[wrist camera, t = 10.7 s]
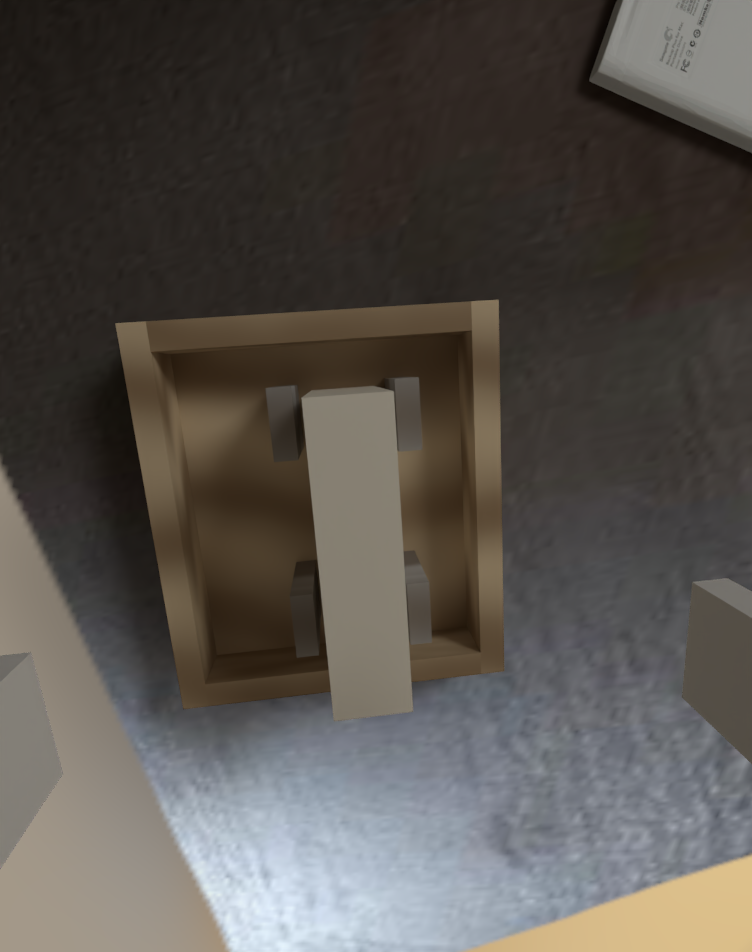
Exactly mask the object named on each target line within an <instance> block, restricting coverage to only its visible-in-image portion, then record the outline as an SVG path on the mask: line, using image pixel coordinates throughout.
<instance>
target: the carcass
mask: <svg viewBox="0 0 752 952" xmlns="http://www.w3.org/2000/svg"><path fill="white" fill-rule="evenodd" d="M115 324H116V330H117V335H118V341H119V347H120V352H121V358H122V364H123V369H124V375H125V381H126V386H127V392H128V398H129V403H130V409H131V415H132V420H133V426H134V432H135V438H136V443H137V449H138V455H139V460H140V466H141V472H142V477H143V483H144V489H145V494H146V500H147V506H148V511H149V517H150V523H151V528H152V534H153V540H154V545H155V551H156V557H157V562H158V568H159V574H160V579H161V585H162V591H163V596H164V602H165V608H166V614H167V619H168V625H169V631H170V636H171V642H172V648H173V653H174V659H175V665H176V670H177V676H178V682H179V687H180V693H181V699H182V704H183V709H189V708H198V707H206V706H215V705H223V704H232V703H240V702H248V701H257V700H265V699H274V698H282V697H291V696H299V695H307V694H316V693H324V692H331V687H330V677H329V667H328V657H327V647H326V638H325V628H324V618H323V608H322V598H321V588H320V578H319V568H318V558H317V548H316V538H315V528H314V518H313V508H312V498H311V488H310V478H309V468H308V458H307V448H306V438H305V429H304V419H303V409H302V399H301V398H302V397H303V396H305V395H306V394H307V393H309V392H310V391H311V390H321V389H335V388H349V387H363V386H376V387H380V388H384V389H388V390H391V391H394V403H395V420H396V437H397V453H398V470H399V486H400V503H401V519H402V536H403V553H404V569H405V586H406V602H407V619H408V635H409V652H410V669H411V682H417V681H425V680H434V679H442V678H451V677H459V676H467V675H476V674H484V673H493V672H501V671H504V628H503V563H502V497H501V432H500V367H499V302H498V300H487V301H470V302H454V303H438V304H422V305H406V306H390V307H373V308H357V309H341V310H325V311H309V312H292V313H276V314H260V315H244V316H228V317H211V318H195V319H179V320H163V321H147V322H130V323H115Z"/></svg>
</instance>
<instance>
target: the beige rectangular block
mask: <svg viewBox="0 0 752 952" xmlns="http://www.w3.org/2000/svg"><path fill="white" fill-rule="evenodd" d="M301 399H302V409H303V419H304V429H305V438H306V448H307V458H308V468H309V478H310V488H311V498H312V508H313V518H314V528H315V538H316V548H317V558H318V568H319V578H320V588H321V598H322V608H323V618H324V628H325V638H326V647H327V657H328V667H329V677H330V687H331V697H332V707H333V717H334V721H341V720H349V719H357V718H366V717H374V716H382V715H390V714H398V713H406V712H413V702H412V685H411V669H410V652H409V635H408V619H407V602H406V586H405V569H404V553H403V536H402V519H401V503H400V486H399V470H398V453H397V437H396V420H395V403H394V391H391V390H388V389H384V388H380V387H376V386H363V387H349V388H335V389H321V390H311V391H310V392H309V393H307V394H306V395H305V396H303V397H302V398H301Z"/></svg>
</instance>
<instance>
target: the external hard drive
mask: <svg viewBox="0 0 752 952" xmlns="http://www.w3.org/2000/svg"><path fill="white" fill-rule="evenodd" d="M589 81H590V82H592V83H594V84H596V85H598V86H601V87H603V88H605V89H608V90H610V91H612V92H614V93H616V94H618V95H621V96H623V97H625V98H628V99H630V100H632V101H634V102H637V103H639V104H641V105H643V106H646V107H648V108H650V109H652V110H655V111H657V112H659V113H662V114H664V115H666V116H668V117H671V118H673V119H675V120H677V121H680V122H682V123H684V124H686V125H689V126H691V127H693V128H696V129H698V130H700V131H703V132H705V133H707V134H709V135H712V136H714V137H716V138H719V139H721V140H723V141H725V142H728V143H730V144H732V145H735V146H737V147H739V148H741V149H744V150H746V151H748V152H750V153H752V0H617V2H616V3H615V6H614V9H613V12H612V14H611V17H610V20H609V23H608V26H607V29H606V32H605V35H604V38H603V41H602V44H601V46H600V49H599V52H598V55H597V58H596V61H595V64H594V67H593V70H592V72H591V75H590V78H589Z"/></svg>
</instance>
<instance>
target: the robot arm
mask: <svg viewBox="0 0 752 952" xmlns="http://www.w3.org/2000/svg"><path fill="white" fill-rule="evenodd" d="M682 698H683V699H684V700H685V701H686V702H688V703H689V704H690V705H691V706H692V707H693V708H694V709H695V710H696V711H697V712H698V713H699V714H700V715H701V716H702V717H703V718H704V719H705V720H706V721H707V722H709V723H710V724H711V725H712V726H713V727H714V728H715V729H716V730H717V731H718V732H719V733H720V734H721V735H722V736H723V737H724V738H725V739H726V740H727V741H728V742H729V743H731V744H732V745H733V746H734V747H735V748H736V749H737V750H738V751H739V752H740V753H741V754H742V755H743V756H744V757H745V758H746V759H747V760H748V761H749V762H750V763H752V591H750V590H748V589H746V588H744V587H742V586H741V585H739V584H737V583H735V582H733V581H731V580H729V579H728V578H726V579H717V580H707V581H698V582H692V593H691V604H690V615H689V626H688V637H687V648H686V659H685V670H684V681H683V692H682ZM62 774H63V772H62V768H61V764H60V760H59V757H58V753H57V749H56V745H55V741H54V737H53V734H52V730H51V726H50V722H49V718H48V715H47V711H46V707H45V703H44V700H43V696H42V692H41V688H40V684H39V680H38V677H37V673H36V669H35V665H34V661H33V657H32V654H31V653H22V654H12V655H3V656H0V869H1V867H2V866H3V864H4V863H5V861H6V860H7V858H8V856H9V855H10V853H11V851H12V850H13V849H14V847H15V846H16V844H17V843H18V841H19V840H20V838H21V837H22V835H23V834H24V832H25V831H26V829H27V828H28V826H29V824H30V823H31V822H32V820H33V819H34V817H35V816H36V814H37V812H38V811H39V809H40V808H41V806H42V805H43V803H44V802H45V800H46V799H47V797H48V796H49V794H50V793H51V791H52V790H53V788H54V787H55V785H56V784H57V782H58V781H59V779H60V778H61V776H62Z"/></svg>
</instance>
